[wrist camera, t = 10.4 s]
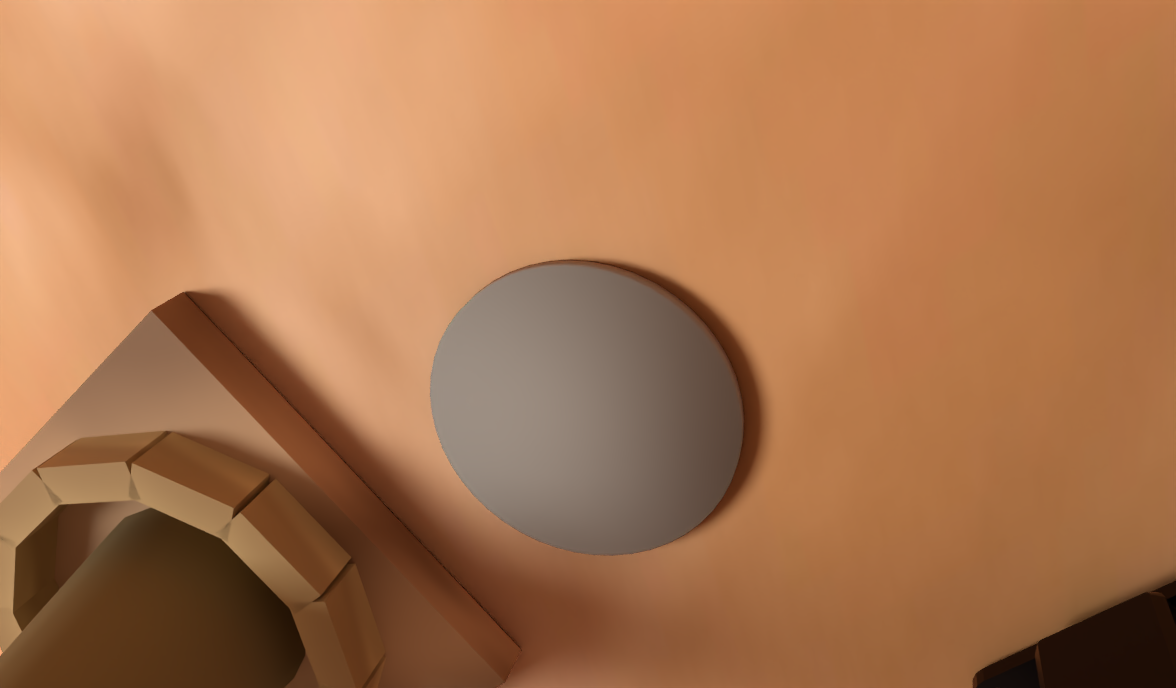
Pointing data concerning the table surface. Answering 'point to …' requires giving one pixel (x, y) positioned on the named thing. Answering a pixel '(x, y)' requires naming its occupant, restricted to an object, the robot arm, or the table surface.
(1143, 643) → the robot arm
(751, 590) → the table surface
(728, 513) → the table surface
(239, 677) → the olive green peg
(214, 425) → the hub board
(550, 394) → the grey coaster
